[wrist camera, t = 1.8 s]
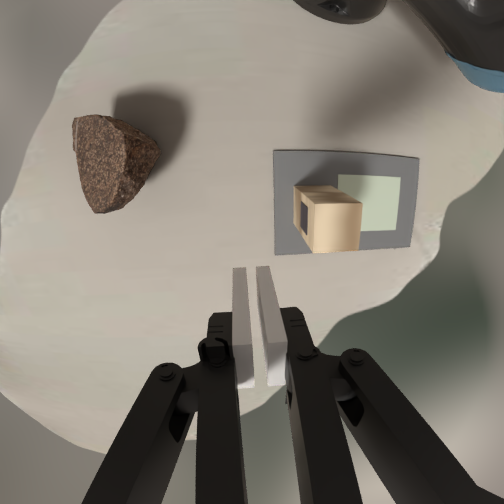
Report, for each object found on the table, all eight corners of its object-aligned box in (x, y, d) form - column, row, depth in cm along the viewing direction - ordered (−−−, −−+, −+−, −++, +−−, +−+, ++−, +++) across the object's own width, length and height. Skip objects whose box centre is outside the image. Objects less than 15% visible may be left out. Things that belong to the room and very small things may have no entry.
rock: (62, 136, 25) (86, 83, 19) (128, 124, 33) (165, 81, 26) (89, 226, 27) (119, 194, 21) (156, 202, 35) (202, 171, 28)
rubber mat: (274, 254, 38) (275, 255, 38) (272, 150, 33) (273, 151, 32) (408, 246, 39) (410, 247, 38) (417, 158, 33) (419, 159, 33)
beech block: (292, 223, 36) (311, 253, 27) (292, 185, 34) (313, 203, 25) (329, 221, 36) (358, 250, 27) (330, 185, 34) (362, 203, 25)
